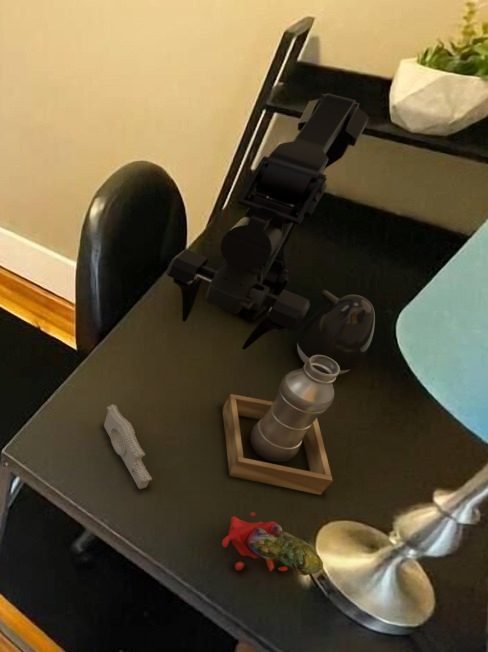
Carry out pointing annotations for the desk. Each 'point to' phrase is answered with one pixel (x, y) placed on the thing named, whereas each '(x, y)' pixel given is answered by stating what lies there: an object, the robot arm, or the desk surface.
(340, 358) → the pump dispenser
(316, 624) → the desk surface
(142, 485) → the garden wall model
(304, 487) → the square wooden frame
